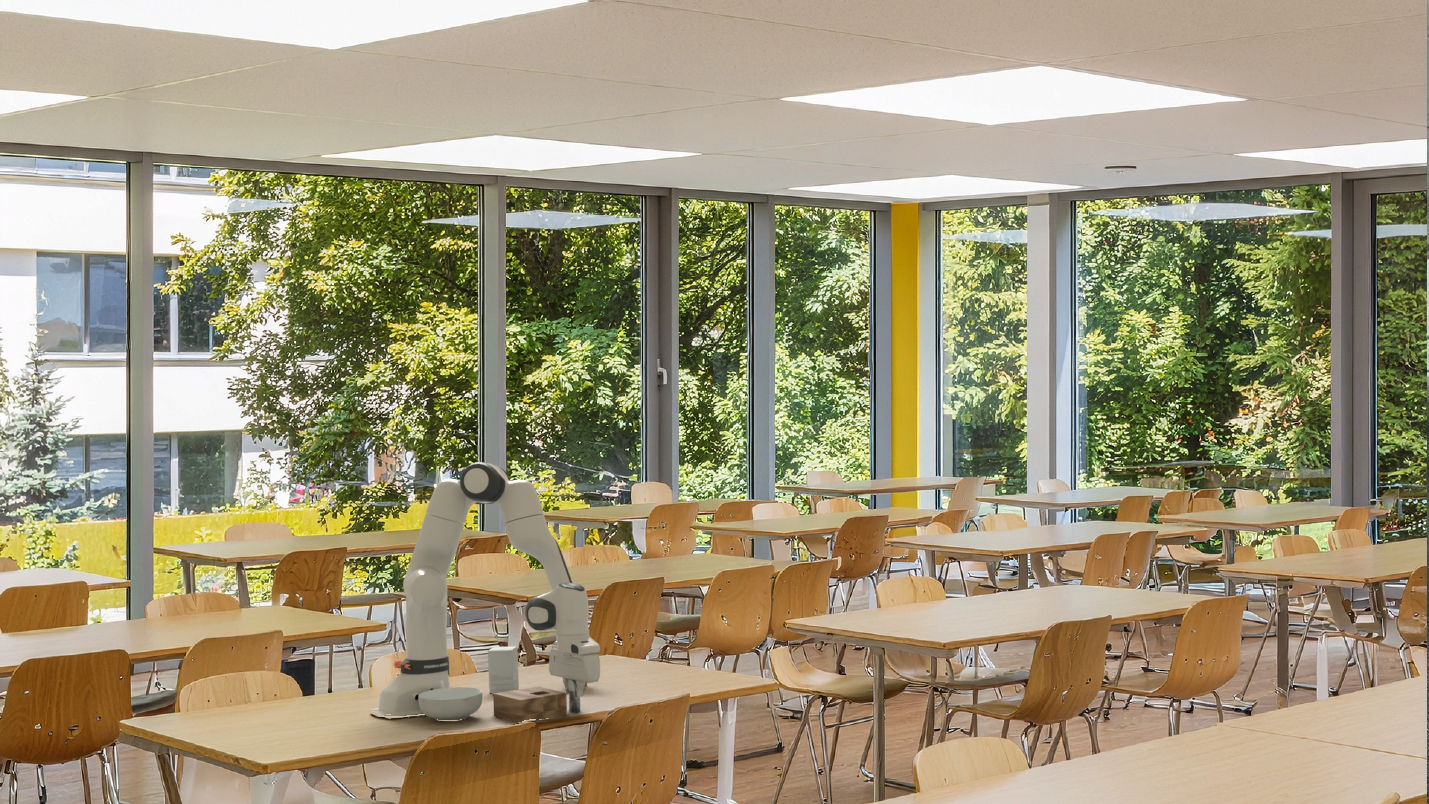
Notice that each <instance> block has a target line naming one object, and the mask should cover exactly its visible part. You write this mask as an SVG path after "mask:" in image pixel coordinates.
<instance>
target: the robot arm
mask: <svg viewBox="0 0 1429 804" xmlns="http://www.w3.org/2000/svg"><path fill="white" fill-rule="evenodd" d="M485 504H487V505H489V504H490V505H491V504H496V505H497V506H498V507H499V509H500V511H501V515H502V517H503V523H504V528H505V532H506V536H507V538H508V541H509V543H510V545H511V546H512V547H514V548H515V549H516V550H517V551H519V552H521V553H523V554H527V555H529V556H531V557H532V558H534V559H536V560H537V561H539V563H540V565H542V567H543V569H544V571H545V575H546V578H547V581H548V583H549V587H550V589H551V590H550V591H548V592H546V593H543V594H541V595H538V596H534V597H533V598H531V599H529V601H528V602H527V604H526V606H525V612H524V614H525V620H526V622H527V624H528V626H529V627H530V628H531V629H532V630H535V631H538V632H539V631H540V632H545V631H551V630H552V631H553V630H555V631H556V632H555V634H556V635H555V637H556V641H554V642H553V644H552V645H551V649H550V651H549V660H548V671H549V674H550V676H554V677H558V678H562V683H563V685H564V687H565V693H566V696H567V695H568V696H569V684H568V679H572V680H576V684H577V688H576V690H574V691H575V697H580V698H582V697H584V688H586V687H585V684H586V683H587V684H591V683H597V682H599V679H600V678H601V658H600V655H599V654H598V653H600V652H601V647H600V644H599V643H598V642H596V641H595V640H594V639H593V638H592V637H591V636H590V629H589V625H588V624H589V623H588V622H589V617H590V615H589V614H590V611H589V598H588V593H587V590H586V588H585V587H584V586H583V585H581V584H578V583H575V582H573V581H572V578H571V574H570V571H569V569H568V567H567V564H566V561H565V558H564V555H563V553H562V550H561V547H560V546H559V543H558V542H557V540H556V539H555V537H554V535H552V533H551V530H550V528H549V526H548V523H547V521H546V517H545V513H544V510H543V509H544V508H543V506H542V503H541V500H540V497H539V494H538V492H537V490H536V488H535V486H534V484H533V483H532V482H531V481H529V480H527V479H515V480H511V478H510V477H509V475H508V473H507V472H506V470H504V469H503V468H502V467H500V466H498V465H496V464H494V463H491V462H484V461H483V462H482V461H478V462H477V461H476V462H473V463H471V464H469V465H468V466H466V467H465V468H464V470H463V471H462V473H461V475H460V478H459V479H456V478H445V479H442V480H441V481H439V482H438V483H437V485H436V487H435V489H434V490H433V492H432V495H431V497H430V500H429V502H428V504H427V506H426V511H425V514H424V517H423V521H422V524H421V528H420V531H419V534H418V538H417V540H416V541H417V542H416V544H415V547H414V549H413V552H412V555H411V557H410V560H409V564H408V567H407V570H406V573H405V576H404V578H403V583H402V584H403V585H402V587H403V591H404V593H405V605H406V607H405V655H406V656H405V658H404V660H403V661H400V660H395V661H394V662H393V664H392V665H393V667H394V668H395V669H400V673H399V674H398V675H397V676H396V677H395V678H393V680H391V681H390V682H389V683H388V684H387V685H386V686H384V688H382V690H381V691H380V694H379V695H380V696H379V701H378V707H376V708H371V710H370V712H371V711H372V712H373V713H375V714H381V715H384V716H407V715H418V714H424V713H423V712H422V711H421V709H420V706H419V699H418V696H419V694H420V693H422V692H425V691H429V690H434V689H441V688H451V687H450V686H451V685H450V679H449V678H450V677H449V676H450V657H449V656H448V639H447V638H448V636H447V635H448V633H447V629H448V628H447V623H448V583H447V577H448V574H449V571H450V569H451V566H452V564H453V560H454V558H455V556H456V553H457V551H458V547H459V543H460V541H461V537H462V534H463V532H464V531H463V530H464V527H465V523H466V520H467V516H468V513H469V510H470V509H471V507H472V506H473V505H485ZM585 682H586V683H585ZM386 714H391V715H386Z"/></svg>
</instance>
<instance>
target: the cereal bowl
mask: <svg viewBox="0 0 1429 804" xmlns="http://www.w3.org/2000/svg"><path fill="white" fill-rule="evenodd" d="M418 699H419V706H420V709H421V711H422V712H423V713H424V714H425V715H426V717H429V718H432V719H435V720H436V719H438V720H460V719H464V720H466V719H467V718H468V717H469V716H471V715H473V714H474V713H476V712H478V710H479V709H480V708H481V706H482V703H483V690H482V689H480V688H478V687H472V686H471V687H469V686H454V687H452V686H451V687H450V688H441V689H434V690H429V691H425V692H422V693H420V694H419V696H418Z"/></svg>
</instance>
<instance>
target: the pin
mask: <svg viewBox="0 0 1429 804" xmlns="http://www.w3.org/2000/svg"><path fill="white" fill-rule="evenodd" d="M568 684H569V695H568V711H569V713H579V712H581V697H575V691H574V690H576V688H577V684H576V680H572V679H568Z"/></svg>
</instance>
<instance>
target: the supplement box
mask: <svg viewBox="0 0 1429 804" xmlns="http://www.w3.org/2000/svg"><path fill="white" fill-rule="evenodd" d="M518 655H519V653H518V645H517V646H516V645H515V646H493V647H491V648H490V649H489V650H487V659H488V660H487V661H488V662H487V663H488V688H489V689H488V690H489V694H490V693H500V692H507V691H513V690H520V689H519V688H520V683H519V660H518V658H519V656H518Z"/></svg>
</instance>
